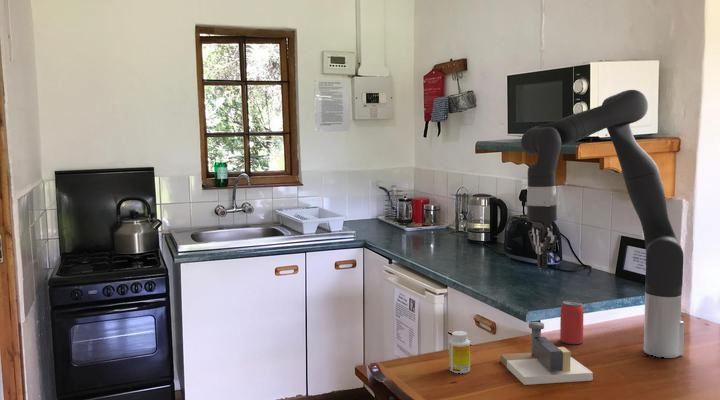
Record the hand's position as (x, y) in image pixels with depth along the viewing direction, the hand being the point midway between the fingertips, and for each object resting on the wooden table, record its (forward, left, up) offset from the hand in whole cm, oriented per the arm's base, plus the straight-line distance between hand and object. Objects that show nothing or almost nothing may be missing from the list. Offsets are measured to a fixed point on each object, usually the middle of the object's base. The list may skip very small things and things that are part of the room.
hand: (542, 267), depth 164 cm
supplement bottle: (+23, 0, -27) cm, 35 cm away
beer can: (-17, -18, -27) cm, 36 cm away
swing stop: (+1, +6, -24) cm, 25 cm away
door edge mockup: (+1, +4, -27) cm, 27 cm away
